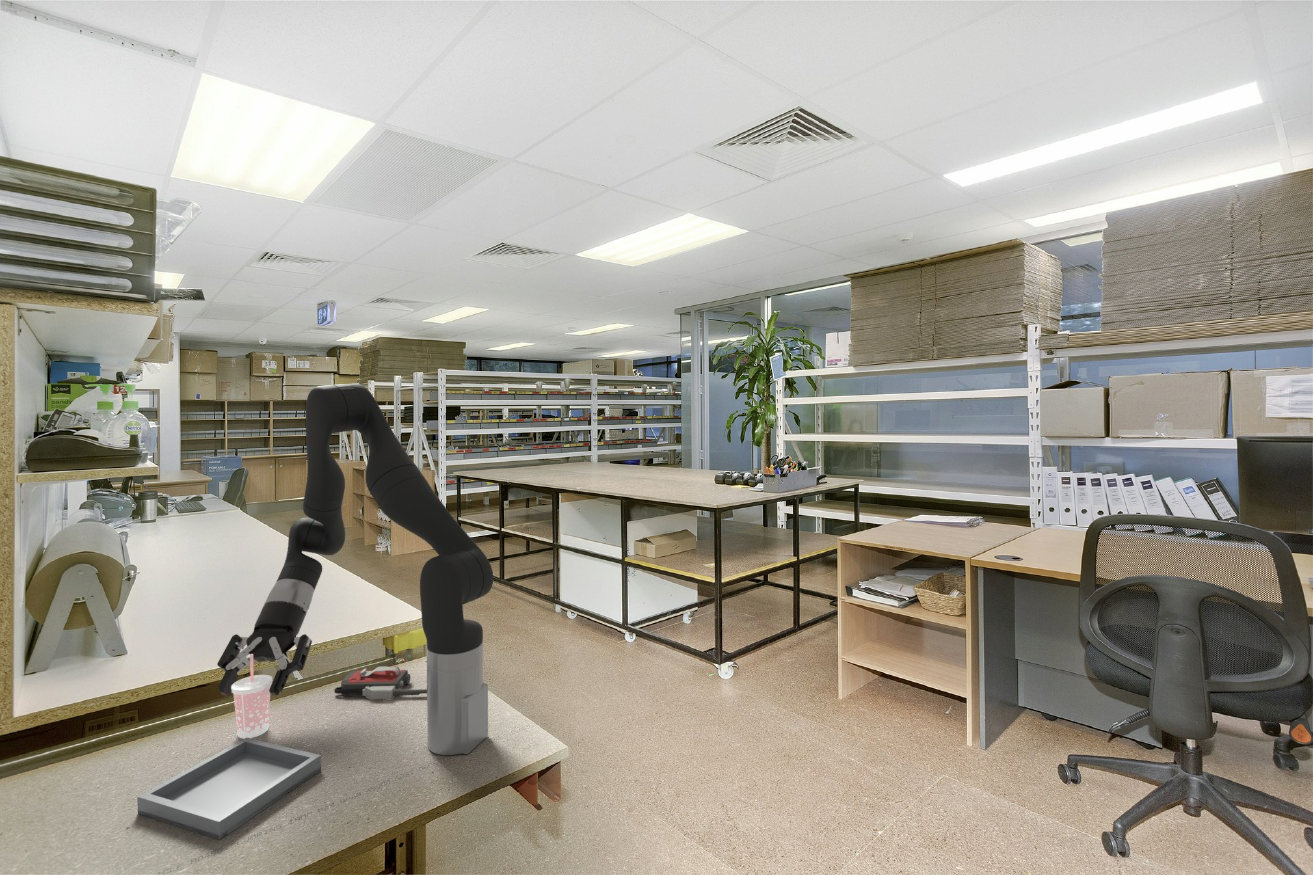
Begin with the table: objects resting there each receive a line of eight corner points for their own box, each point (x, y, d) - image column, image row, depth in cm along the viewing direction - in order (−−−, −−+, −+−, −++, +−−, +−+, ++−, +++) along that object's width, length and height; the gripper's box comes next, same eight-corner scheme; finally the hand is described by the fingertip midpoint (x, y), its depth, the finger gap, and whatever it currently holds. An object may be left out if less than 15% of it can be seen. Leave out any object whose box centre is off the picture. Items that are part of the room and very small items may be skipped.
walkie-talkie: (328, 703, 116) (432, 700, 117) (328, 681, 116) (432, 679, 117) (348, 682, 125) (444, 680, 126) (348, 662, 124) (444, 660, 126)
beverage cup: (281, 722, 108) (279, 647, 107) (259, 740, 102) (257, 661, 101) (247, 722, 108) (246, 647, 107) (223, 740, 102) (221, 661, 101)
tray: (321, 770, 94) (320, 755, 94) (219, 839, 78) (219, 821, 78) (246, 751, 98) (246, 737, 98) (137, 813, 83) (137, 796, 83)
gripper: (239, 599, 111) (195, 686, 100) (315, 599, 112) (280, 686, 101) (257, 616, 117) (218, 701, 106) (330, 616, 117) (298, 700, 106)
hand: (248, 693), depth 103 cm, fingers open, 8 cm apart
